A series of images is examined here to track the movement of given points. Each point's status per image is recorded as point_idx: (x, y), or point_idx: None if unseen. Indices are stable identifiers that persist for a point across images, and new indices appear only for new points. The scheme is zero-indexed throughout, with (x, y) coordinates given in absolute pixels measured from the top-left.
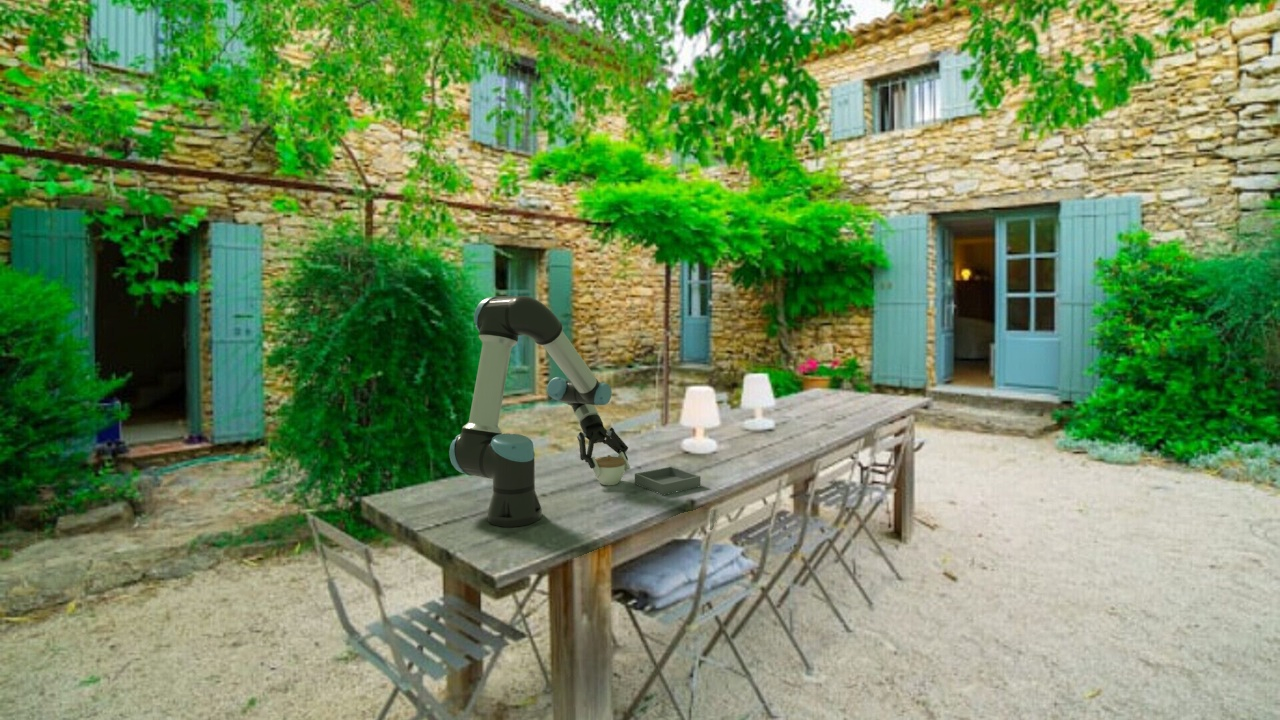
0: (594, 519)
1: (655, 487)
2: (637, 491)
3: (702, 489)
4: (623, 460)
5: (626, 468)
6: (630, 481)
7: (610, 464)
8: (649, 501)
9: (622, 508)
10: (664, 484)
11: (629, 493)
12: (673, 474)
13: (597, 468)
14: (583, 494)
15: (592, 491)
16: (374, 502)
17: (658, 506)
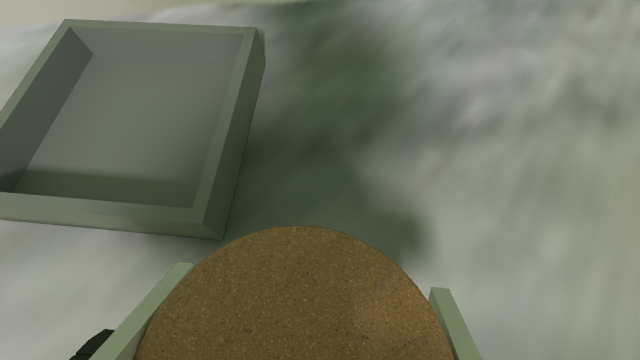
0: (592, 33)
1: (252, 83)
2: (298, 148)
3: None
4: (202, 270)
5: None
6: None
7: (370, 248)
8: (344, 50)
9: (463, 52)
10: (248, 27)
11: (342, 149)
12: (10, 183)
13: (464, 324)
14: (540, 277)
15: (475, 287)
16: None
17: (354, 10)
